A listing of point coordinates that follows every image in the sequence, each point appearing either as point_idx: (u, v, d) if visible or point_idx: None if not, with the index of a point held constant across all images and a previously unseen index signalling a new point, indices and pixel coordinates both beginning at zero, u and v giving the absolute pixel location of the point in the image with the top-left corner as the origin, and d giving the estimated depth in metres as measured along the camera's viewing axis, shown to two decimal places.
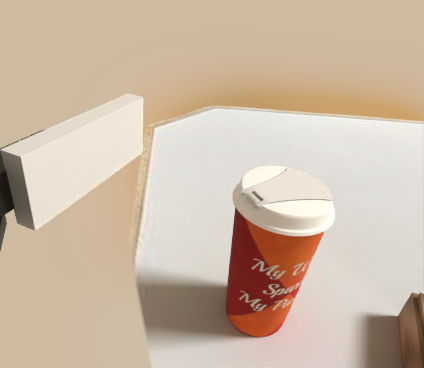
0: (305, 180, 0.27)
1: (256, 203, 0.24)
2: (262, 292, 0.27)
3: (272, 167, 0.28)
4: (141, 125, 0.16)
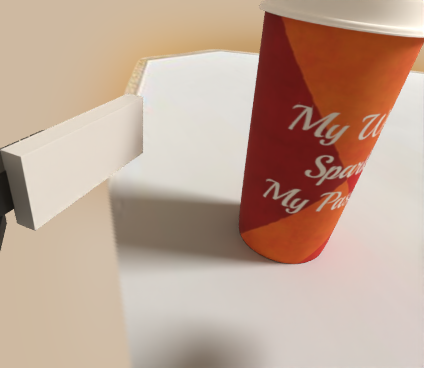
0: None
1: None
2: (304, 175, 0.17)
3: None
4: (141, 125, 0.16)
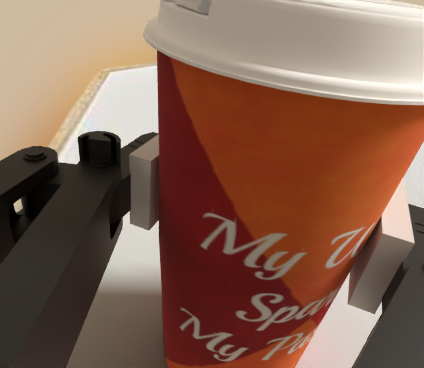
0: None
1: None
2: (236, 316, 0.10)
3: None
4: None
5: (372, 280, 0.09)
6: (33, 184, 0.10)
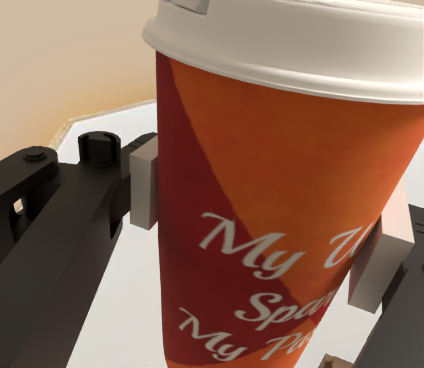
0: None
1: None
2: (235, 316, 0.10)
3: None
4: None
5: (372, 280, 0.09)
6: (33, 184, 0.10)
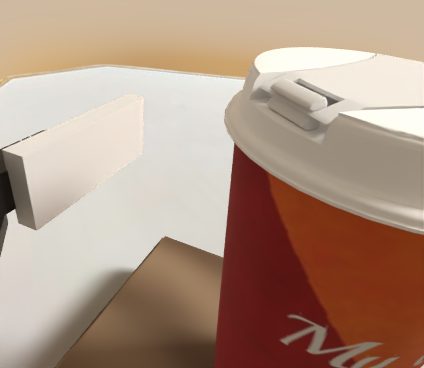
0: None
1: (315, 111, 0.06)
2: None
3: (337, 50, 0.10)
4: (142, 125, 0.16)
5: None
6: None
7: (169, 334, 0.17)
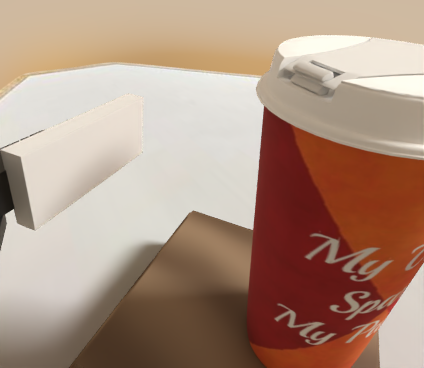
0: None
1: (325, 81, 0.09)
2: (329, 309, 0.12)
3: (339, 36, 0.13)
4: (141, 125, 0.16)
5: None
6: None
7: (206, 286, 0.20)
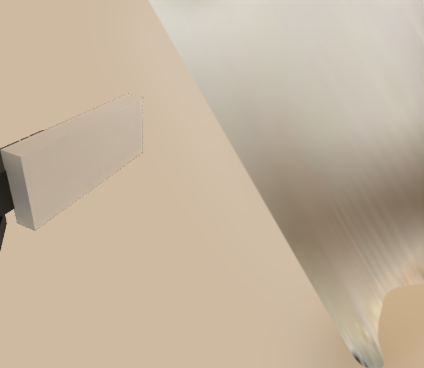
0: None
1: None
2: None
3: None
4: (141, 125, 0.16)
5: None
6: None
7: None
